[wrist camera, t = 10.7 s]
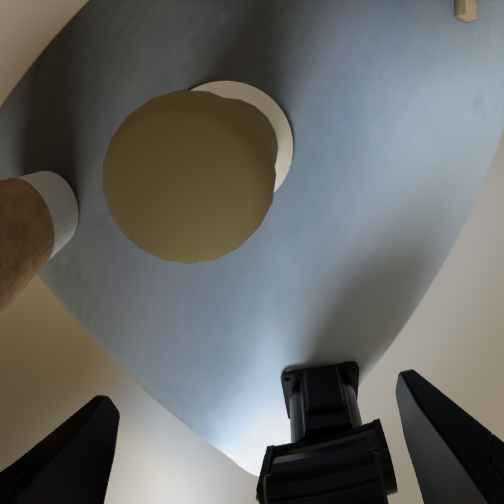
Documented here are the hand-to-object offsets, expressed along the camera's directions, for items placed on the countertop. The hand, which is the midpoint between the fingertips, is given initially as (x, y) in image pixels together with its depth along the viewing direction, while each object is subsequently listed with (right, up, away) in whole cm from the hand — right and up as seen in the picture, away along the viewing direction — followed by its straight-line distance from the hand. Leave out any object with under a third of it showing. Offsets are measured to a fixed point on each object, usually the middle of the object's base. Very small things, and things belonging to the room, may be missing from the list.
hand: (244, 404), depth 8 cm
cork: (-1, +10, +9) cm, 14 cm away
